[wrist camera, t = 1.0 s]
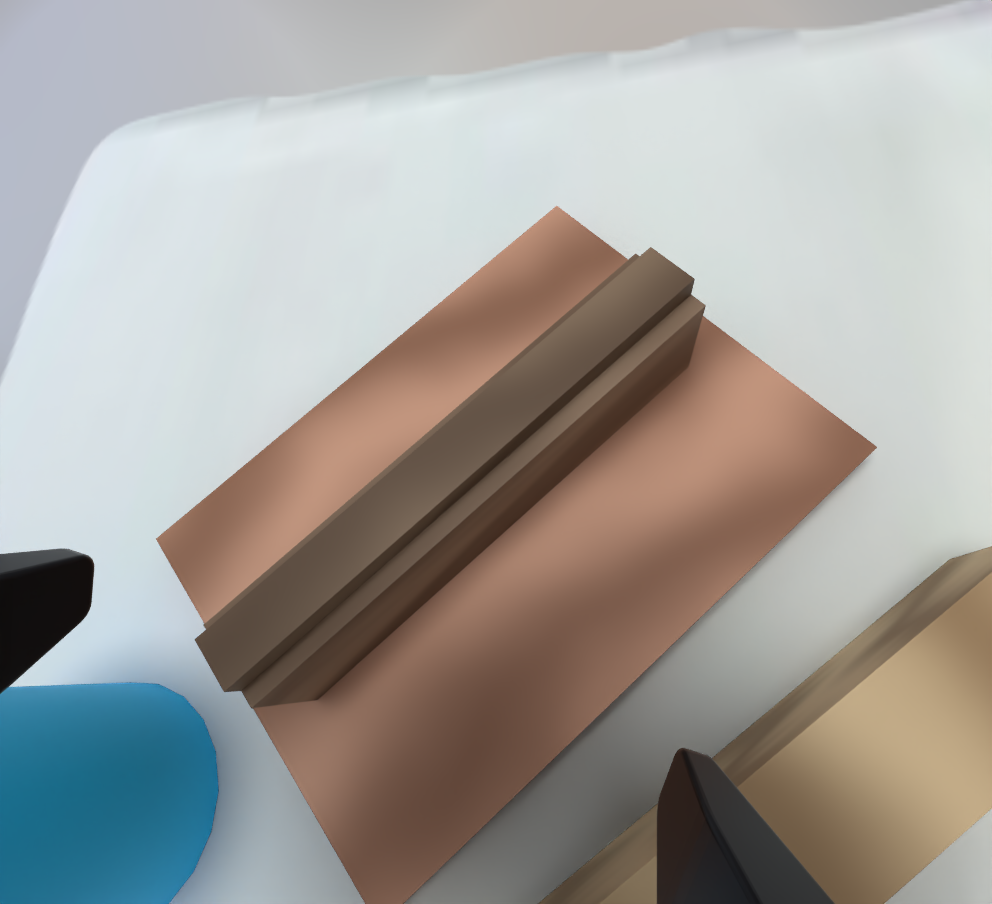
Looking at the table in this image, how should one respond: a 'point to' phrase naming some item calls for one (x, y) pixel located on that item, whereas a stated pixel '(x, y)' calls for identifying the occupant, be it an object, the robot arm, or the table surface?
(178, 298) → the table surface
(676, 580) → the fulcrum stand
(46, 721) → the mug
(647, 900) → the oak bar
